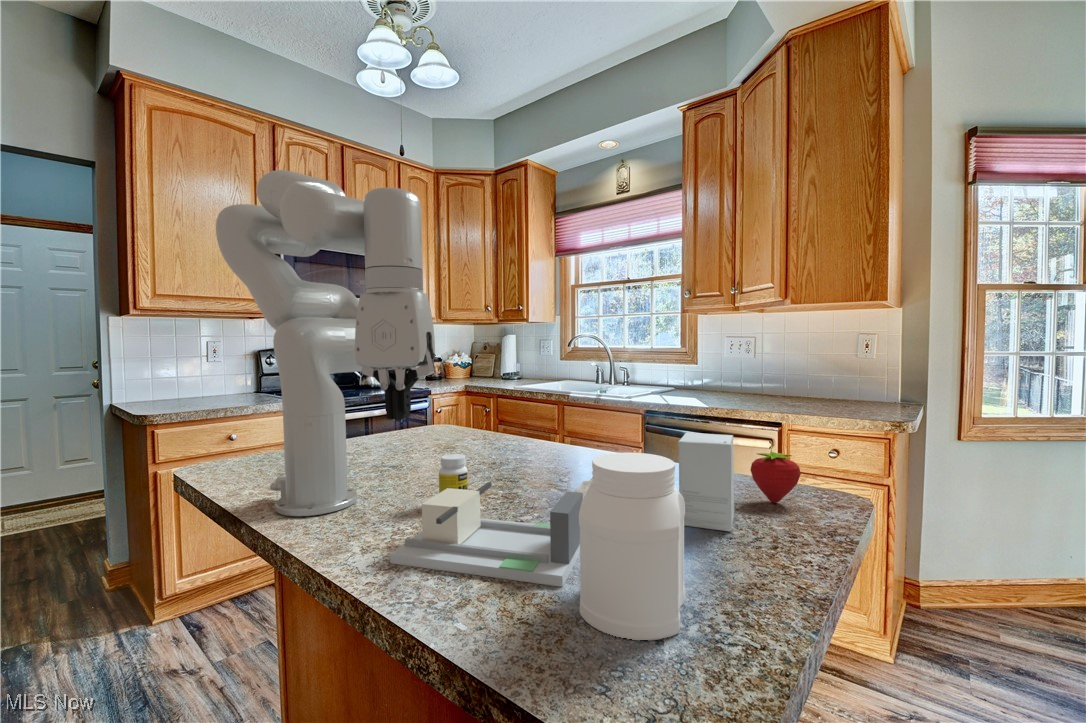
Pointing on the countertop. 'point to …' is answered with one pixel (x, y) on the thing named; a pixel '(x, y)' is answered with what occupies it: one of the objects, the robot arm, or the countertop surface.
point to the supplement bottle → (453, 472)
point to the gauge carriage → (452, 515)
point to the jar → (632, 547)
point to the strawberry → (775, 475)
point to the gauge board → (506, 548)
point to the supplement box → (707, 480)
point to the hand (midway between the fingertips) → (398, 417)
